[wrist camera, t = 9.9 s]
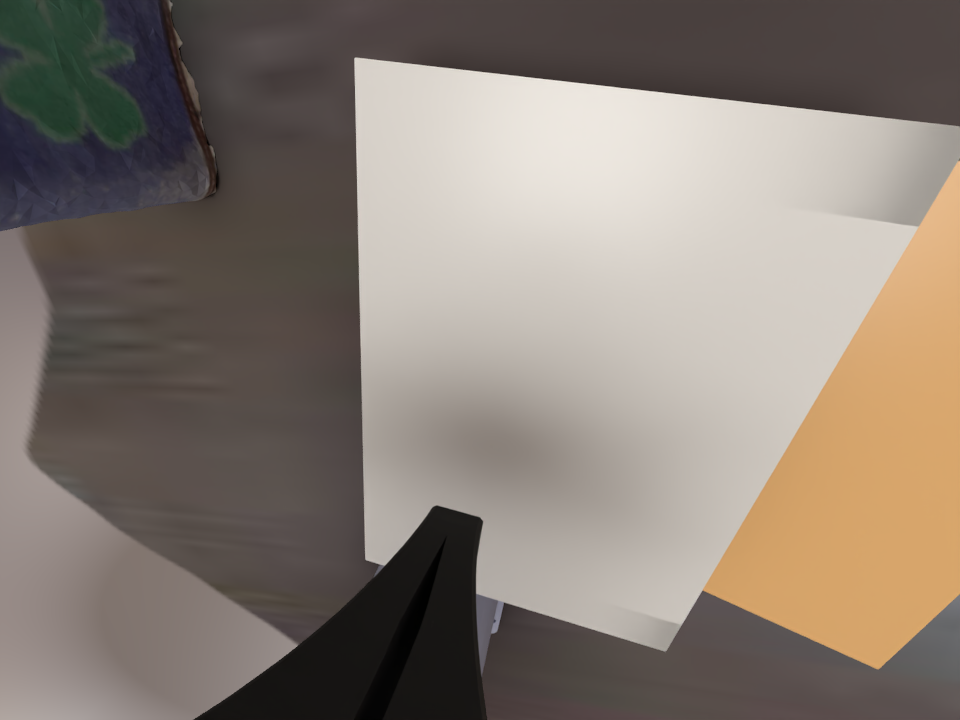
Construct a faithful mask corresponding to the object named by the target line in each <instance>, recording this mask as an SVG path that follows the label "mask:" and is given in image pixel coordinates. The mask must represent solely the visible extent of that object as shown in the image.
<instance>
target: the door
mask: <svg viewBox="0 0 960 720" xmlns="http://www.w3.org/2000/svg"><path fill="white" fill-rule="evenodd" d="M703 591H705V592H708V593H710V594H712V595H714V596H716V597H719V598H721V599H723V600H725V601H728V602H730V603H732V604H734V605H736V606H739V607H741V608H743V609H745V610H747V611H750V612H752V613H754V614H756V615H759V616H761V617H763V618H765V619H767V620H770V621H772V622H774V623H776V624H778V625H781V626H783V627H785V628H787V629H790V630H792V631H794V632H796V633H798V634H801V635H803V636H805V637H807V638H809V639H812V640H814V641H816V642H818V643H821V644H823V645H825V646H827V647H829V648H832V649H834V650H836V651H838V652H840V653H843V654H845V655H847V656H849V657H852V658H854V659H856V660H858V661H860V662H863V663H865V664H867V665H869V666H871V667H874V668H876V669H879V668H881V667H882V666H883V665H884V664H885V663H886V662H887V661H888V660H889V659H890V658H891V657H892V656H893V655H895V654H896V653H897V652H898V651H899V650H900V649H901V648H902V647H903V646H904V645H905V644H906V643H907V642H908V641H910V640H911V639H912V638H913V637H914V636H915V635H916V634H917V633H918V632H919V631H920V630H921V629H922V628H924V627H925V626H926V625H927V624H928V623H929V622H930V621H931V620H932V619H933V618H934V617H935V616H936V615H938V614H939V613H940V612H941V611H942V610H943V609H944V608H945V607H946V606H947V605H948V604H949V603H950V602H951V601H953V600H954V599H955V598H956V597H957V596H958V595H959V594H960V161H958V162H957V163H956V165H955V167H954V168H953V170H952V172H951V174H950V175H949V177H948V179H947V180H946V182H945V184H944V185H943V187H942V189H941V190H940V192H939V194H938V195H937V197H936V199H935V200H934V202H933V204H932V205H931V207H930V209H929V210H928V212H927V214H926V215H925V217H924V219H923V221H922V222H921V224H920V226H919V227H918V229H917V231H916V232H915V234H914V236H913V237H912V239H911V241H910V242H909V244H908V246H907V247H906V249H905V251H904V252H903V254H902V256H901V257H900V259H899V261H898V263H897V264H896V266H895V268H894V269H893V271H892V273H891V274H890V276H889V278H888V279H887V281H886V283H885V284H884V286H883V288H882V289H881V291H880V293H879V294H878V296H877V298H876V299H875V301H874V303H873V304H872V306H871V308H870V310H869V311H868V313H867V315H866V316H865V318H864V320H863V321H862V323H861V325H860V326H859V328H858V330H857V331H856V333H855V335H854V336H853V338H852V340H851V341H850V343H849V345H848V346H847V348H846V350H845V352H844V353H843V355H842V357H841V358H840V360H839V362H838V363H837V365H836V367H835V368H834V370H833V372H832V373H831V375H830V377H829V378H828V380H827V382H826V383H825V385H824V387H823V388H822V390H821V392H820V393H819V395H818V397H817V399H816V400H815V402H814V404H813V405H812V407H811V409H810V410H809V412H808V414H807V415H806V417H805V419H804V420H803V422H802V424H801V425H800V427H799V429H798V430H797V432H796V434H795V435H794V437H793V439H792V441H791V442H790V444H789V446H788V447H787V449H786V451H785V452H784V454H783V456H782V457H781V459H780V461H779V462H778V464H777V466H776V467H775V469H774V471H773V472H772V474H771V476H770V477H769V479H768V481H767V482H766V484H765V486H764V488H763V489H762V491H761V493H760V494H759V496H758V498H757V499H756V501H755V503H754V504H753V506H752V508H751V509H750V511H749V513H748V514H747V516H746V518H745V519H744V521H743V523H742V524H741V526H740V528H739V529H738V531H737V533H736V535H735V536H734V538H733V540H732V541H731V543H730V545H729V546H728V548H727V550H726V551H725V553H724V555H723V556H722V558H721V560H720V561H719V563H718V565H717V566H716V568H715V570H714V571H713V573H712V575H711V577H710V578H709V580H708V582H707V583H706V585H705V587H704V588H703Z"/></svg>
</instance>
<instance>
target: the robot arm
mask: <svg viewBox="0 0 960 720" xmlns="http://www.w3.org/2000/svg"><path fill="white" fill-rule="evenodd" d="M482 526H483V520H482V519H481V518H480V517H477V516H474V515H470V514H467V513H463V512H459V511H456V510H452V509H449V508H445V507H441V506H438V505H436V506H434V507H432V509H431V510H430V512H429V513H428V514H427V516H426V517H425V519H424V520H423V521H422V523H421V524H420V525H419V527H418V528H417V529H416V530H415V532H414V533H413V534H412V535H411V537H410V538H409V539H408V540H407V541H406V543H405V544H404V545H403V546H402V547H401V548H400V549H399V551H398V552H397V553H396V554H395V555H394V556H393V557H392V558H391V560H390V561H389V562H388V563H387V564H386V565H385V566H384V565H379V567H378V569H377V571H376V573H375V575H374V577H373V579H372V580H371V581H370V582H369V583H368V584H367V585H366V586H365V587H364V588H363V589H362V590H361V591H360V592H359V593H358V594H357V595H356V596H355V597H354V598H353V599H351V600H350V601H349V602H348V603H347V604H346V605H345V606H344V607H343V608H342V609H341V610H340V611H339V612H337V613H336V614H335V615H334V616H333V617H332V618H331V619H329V620H328V621H327V622H326V623H325V624H324V625H323V626H321V627H320V628H319V629H318V630H317V631H315V632H314V633H313V634H312V635H311V636H309V637H308V638H307V639H306V640H304V641H303V642H302V643H301V644H300V645H298V646H297V647H296V648H295V649H293V650H292V651H291V652H290V653H289V654H287V655H286V656H284V657H283V658H282V659H281V660H279V661H278V662H277V663H275V664H274V665H273V666H271V667H270V668H269V669H267V670H266V671H264V672H263V673H262V674H260V675H259V676H257V677H256V678H255V679H253V680H252V681H250V682H249V683H247V684H246V685H245V686H243V687H242V688H241V689H239V690H238V691H236V692H235V693H234V694H232V695H231V696H229V697H228V698H226V699H225V700H223V701H222V702H220V703H219V704H217V705H216V706H214V707H212V708H211V709H210V710H208V711H207V712H205V713H203V714H202V715H200V716H198V717H197V718H195V719H194V720H487V716H486V708H485V701H484V693H483V686H482V674H483V669H484V664H485V660H486V655H487V650H488V646H489V641H490V636H491V633H496V632H497V631H498V626H499V622H500V618H501V614H502V609H503V605H504V602H501V601H498V600H495V599H492V598H488V597H485V596H482V595H479V594H476V567H477V555H478V549H479V544H480V538H481V532H482Z"/></svg>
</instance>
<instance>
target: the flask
mask: <svg viewBox="0 0 960 720" xmlns="http://www.w3.org/2000/svg"><path fill="white" fill-rule="evenodd" d="M171 6H173V3H171V2H170V0H0V231H3V230H8V229H13V228H17V227H20V226H27V225H34V224H38V223H42V222H48V221H55V220H61V219H72V218H81V217H85V216H89V215H94V214H100V213H109V212H116V211H133V210H138V209H143V208H145V207H151V206H157V205H163V204H173V203H180V202H186V201H198V200H201V199H204V198H205V197H207V196H209V195H211V194H213V193H215V192H216V188H215V187H216V173H217V167H216V163H215V161H216V160H215V153H214V151H213V150H214V149H213V147H212V146H211V145H210V146H208V144H207V143H206V142H207V139H206V137H205V131H204V128H203V124H202V117H201V114H200V111H201V107H200V104H199V101H198V95H199V93H198V92H197V91H196V89H195V85H194V80H193V78H192V77H191V76H190V74H191V73H188V70H187V68H186V67H185V65H184V63H183V62H182V61H181V57H180V51H179V48H180V46H181V45H182V44H183V42H182V41H181V40H180V38H179V35H178V34H177V32H176V30H175V29H174V27H173V23H172V19H171Z"/></svg>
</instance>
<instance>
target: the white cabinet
mask: <svg viewBox="0 0 960 720" xmlns="http://www.w3.org/2000/svg"><path fill="white" fill-rule="evenodd" d="M355 104H356V150H357V196H358V242H359V289H360V335H361V381H362V427H363V473H364V520H365V560H367V561H371V562H374V563H377V564H380V565H384V566H385V565H386V564H387V563H388V562H389V561H390V560H391V558H392V557H393V556H394V555H395V554H396V553H397V552H398V551H399V549H400V548H401V547H402V546H403V545H404V544H405V543H406V541H407V540H408V539H409V538H410V537H411V535H412V534H413V533H414V532H415V530H416V529H417V528H418V527H419V525H420V524H421V523H422V521H423V520H424V519H425V517H426V516H427V514H428V513H429V512H430V510H431V509H432V507H434V506H436V505H438V506H441V507H445V508H449V509H452V510H456V511H459V512H463V513H467V514H470V515H474V516H477V517H480V518H481V519H482V520H483V526H482V532H481V538H480V544H479V549H478V555H477V567H476V594H479V595H482V596H485V597H488V598H492V599H495V600H498V601H501V602H505V603H508V604H511V605H515V606H518V607H521V608H524V609H528V610H531V611H534V612H537V613H541V614H544V615H547V616H551V617H554V618H557V619H560V620H564V621H567V622H570V623H573V624H577V625H580V626H583V627H586V628H590V629H593V630H596V631H600V632H603V633H606V634H609V635H613V636H616V637H619V638H622V639H626V640H629V641H632V642H636V643H639V644H642V645H645V646H649V647H652V648H655V649H658V650H662V651H665V652H666V650H667V649H668V647H669V645H670V644H671V642H672V640H673V639H674V637H675V635H676V634H677V632H678V630H679V629H680V627H681V625H682V624H683V622H684V620H685V618H686V617H687V615H688V613H689V612H690V610H691V608H692V607H693V605H694V603H695V602H696V600H697V598H698V597H699V595H700V593H701V592H702V590H703V588H704V587H705V585H706V583H707V582H708V580H709V578H710V577H711V575H712V573H713V571H714V570H715V568H716V566H717V565H718V563H719V561H720V560H721V558H722V556H723V555H724V553H725V551H726V550H727V548H728V546H729V545H730V543H731V541H732V540H733V538H734V536H735V535H736V533H737V531H738V529H739V528H740V526H741V524H742V523H743V521H744V519H745V518H746V516H747V514H748V513H749V511H750V509H751V508H752V506H753V504H754V503H755V501H756V499H757V498H758V496H759V494H760V493H761V491H762V489H763V488H764V486H765V484H766V482H767V481H768V479H769V477H770V476H771V474H772V472H773V471H774V469H775V467H776V466H777V464H778V462H779V461H780V459H781V457H782V456H783V454H784V452H785V451H786V449H787V447H788V446H789V444H790V442H791V441H792V439H793V437H794V435H795V434H796V432H797V430H798V429H799V427H800V425H801V424H802V422H803V420H804V419H805V417H806V415H807V414H808V412H809V410H810V409H811V407H812V405H813V404H814V402H815V400H816V399H817V397H818V395H819V393H820V392H821V390H822V388H823V387H824V385H825V383H826V382H827V380H828V378H829V377H830V375H831V373H832V372H833V370H834V368H835V367H836V365H837V363H838V362H839V360H840V358H841V357H842V355H843V353H844V352H845V350H846V348H847V346H848V345H849V343H850V341H851V340H852V338H853V336H854V335H855V333H856V331H857V330H858V328H859V326H860V325H861V323H862V321H863V320H864V318H865V316H866V315H867V313H868V311H869V310H870V308H871V306H872V304H873V303H874V301H875V299H876V298H877V296H878V294H879V293H880V291H881V289H882V288H883V286H884V284H885V283H886V281H887V279H888V278H889V276H890V274H891V273H892V271H893V269H894V268H895V266H896V264H897V263H898V261H899V259H900V257H901V256H902V254H903V252H904V251H905V249H906V247H907V246H908V244H909V242H910V241H911V239H912V237H913V236H914V234H915V232H916V231H917V229H918V227H919V226H920V224H921V222H922V221H923V219H924V217H925V215H926V214H927V212H928V210H929V209H930V207H931V205H932V204H933V202H934V200H935V199H936V197H937V195H938V194H939V192H940V190H941V189H942V187H943V185H944V184H945V182H946V180H947V179H948V177H949V175H950V174H951V172H952V170H953V168H954V167H955V165H956V163H957V162H958V160H959V158H960V127H959V126H950V125H941V124H932V123H924V122H915V121H906V120H897V119H889V118H880V117H871V116H862V115H853V114H845V113H836V112H827V111H818V110H810V109H801V108H792V107H783V106H775V105H766V104H757V103H748V102H739V101H731V100H722V99H713V98H704V97H696V96H687V95H678V94H669V93H661V92H652V91H643V90H634V89H626V88H617V87H608V86H599V85H590V84H582V83H573V82H564V81H555V80H547V79H538V78H529V77H520V76H512V75H503V74H494V73H485V72H476V71H468V70H459V69H450V68H441V67H433V66H424V65H415V64H406V63H398V62H389V61H380V60H371V59H363V58H355Z"/></svg>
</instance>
